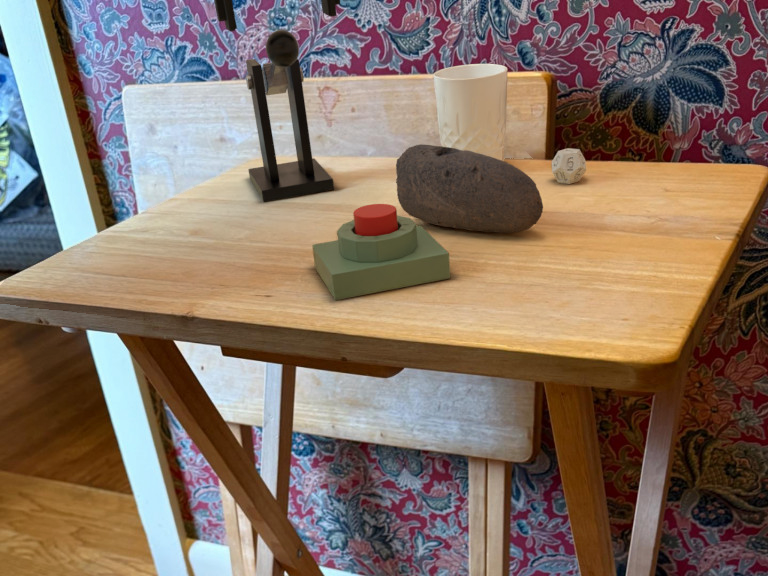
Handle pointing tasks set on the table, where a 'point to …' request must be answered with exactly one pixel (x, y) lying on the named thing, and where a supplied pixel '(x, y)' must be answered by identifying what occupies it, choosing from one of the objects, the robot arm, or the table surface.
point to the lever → (279, 61)
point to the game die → (568, 166)
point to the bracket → (306, 171)
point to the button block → (380, 260)
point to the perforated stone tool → (466, 190)
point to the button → (375, 220)
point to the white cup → (472, 108)
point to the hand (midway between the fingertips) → (281, 22)
